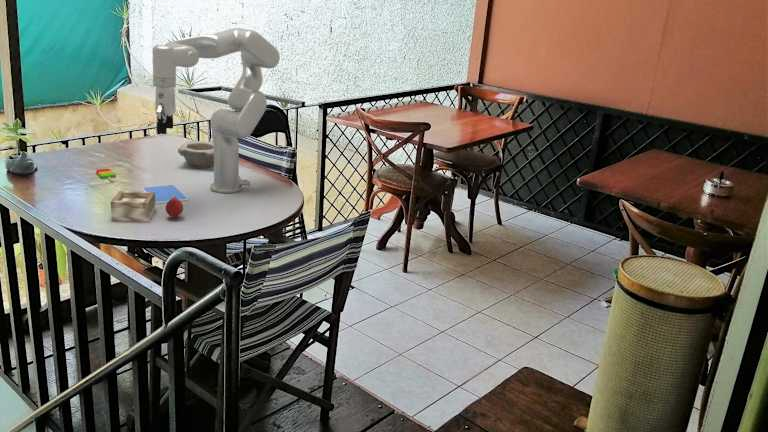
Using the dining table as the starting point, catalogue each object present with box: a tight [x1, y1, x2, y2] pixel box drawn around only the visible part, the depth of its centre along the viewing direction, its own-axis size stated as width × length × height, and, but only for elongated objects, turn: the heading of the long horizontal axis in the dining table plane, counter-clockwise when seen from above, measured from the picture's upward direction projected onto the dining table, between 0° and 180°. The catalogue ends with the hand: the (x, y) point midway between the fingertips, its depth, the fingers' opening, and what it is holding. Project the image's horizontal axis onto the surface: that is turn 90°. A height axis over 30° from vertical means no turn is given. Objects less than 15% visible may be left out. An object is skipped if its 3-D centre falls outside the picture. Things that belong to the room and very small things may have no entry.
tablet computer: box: [141, 184, 189, 205], centre depth 260 cm, size 19×13×1 cm, turn 32°
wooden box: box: [110, 190, 156, 223], centre depth 237 cm, size 12×12×7 cm
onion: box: [165, 196, 184, 219], centre depth 237 cm, size 6×6×8 cm
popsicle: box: [95, 168, 117, 183], centre depth 276 cm, size 6×15×2 cm, turn 35°
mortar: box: [177, 140, 214, 169], centre depth 298 cm, size 17×17×9 cm
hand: (165, 130), depth 241 cm, fingers open, 9 cm apart
